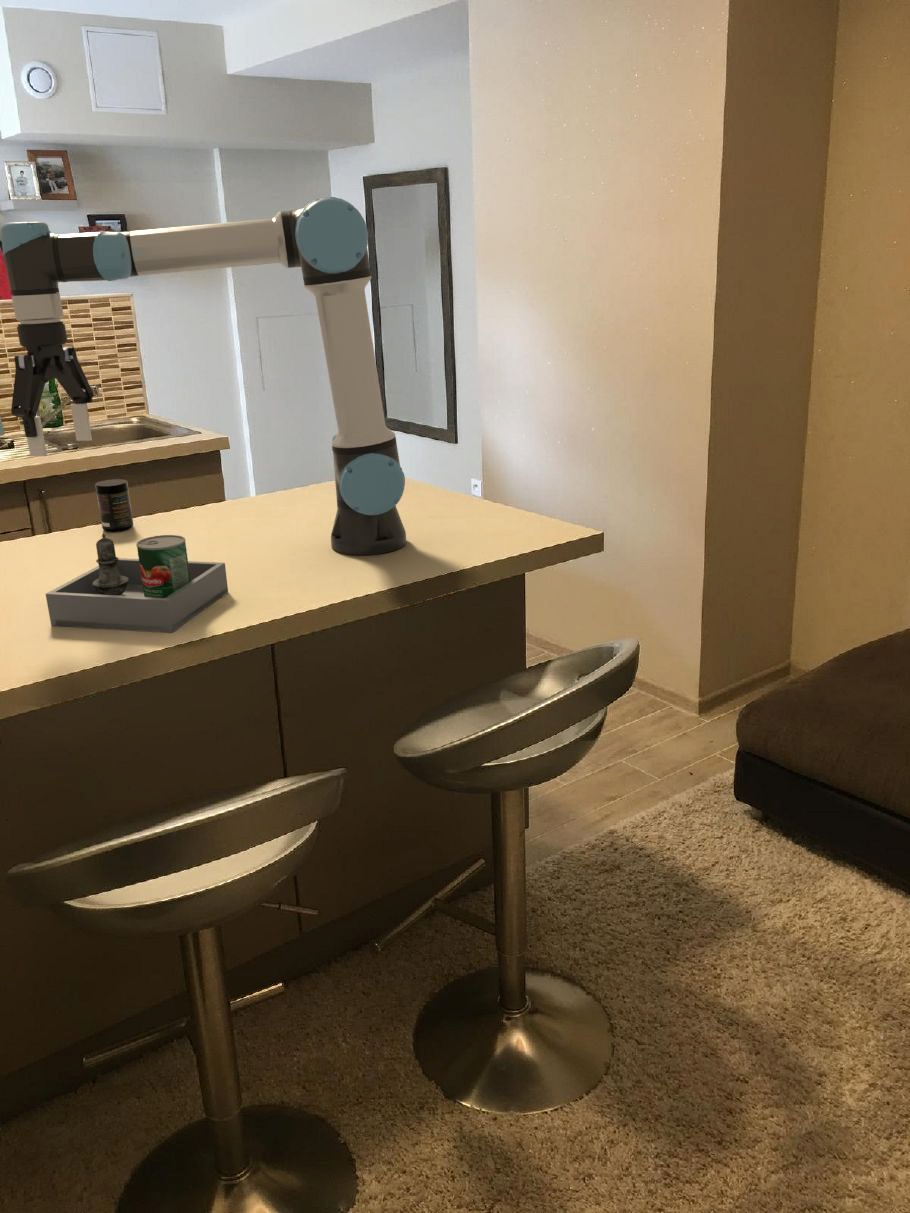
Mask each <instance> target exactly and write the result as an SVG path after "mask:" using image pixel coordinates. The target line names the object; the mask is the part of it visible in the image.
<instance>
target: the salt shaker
mask: <svg viewBox="0 0 910 1213" xmlns="http://www.w3.org/2000/svg"><path fill="white" fill-rule="evenodd" d="M106 536H107V535H105V534H104V533H102V535H101V538H100V539H98V540H97V541H96V543H95V546H96V554H97V559H96V560H95V561H96V563H97V564H98V566H99V570H100V575H99V579H97V580H95V581H94V582H93V583H92V584H93V586H95V589H96V591H97V592H98V594H100V595H117V596H126V595H123V593H124V592H125V590H126V588H127V582H128V580H129V579H128V578H127V577H125V576H121V575H120V573H119V571H118V565H117V561H118V558H119V557H117V556H116V550H115V543H114V541H113V540H112V539H110V538H107V537H106Z"/></svg>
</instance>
